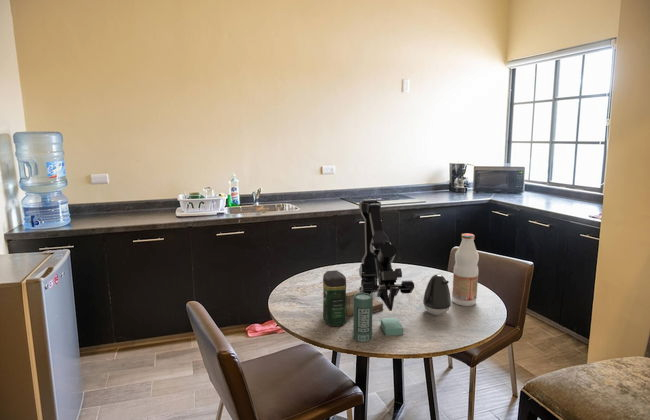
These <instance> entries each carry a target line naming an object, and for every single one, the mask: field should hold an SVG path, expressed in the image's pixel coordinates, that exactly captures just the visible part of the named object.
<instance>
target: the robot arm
mask: <svg viewBox="0 0 650 420" xmlns="http://www.w3.org/2000/svg"><path fill="white" fill-rule="evenodd" d="M358 209H359V212H360V215H361V217H362V218H363V219H364V247H365V248H364V250H365V251H364V254H363V257H362V259H361V264H360V266H359V268H358V269H359V270H358V272H359V273H358V274H359V277H360V278H361V280H360V287H358V288H359V289H360V293H368V294H371V295H372V293H373V292H376V293H377V294H376V297H378V298H380V299H381V301H382V303H383V304H384V305H385V306H386V307H387V309H388V311H389V312H392V311H393V307H394V301H395V297H397V296H398V293H399V292H400V293H401V294H402V295H403V294H412V292H413V290H415V289H414V288H415V282H414V281H413V280H402V281H401V283H400V284H398V283H397V281H398V278H402V277H403V271H402V268H399V267H398V268H396V267H395V269H394V268H393V267H392V263H393V261H394V259H395V257H396V254H397V248H396V246H394V245H393V244H392V243H391V242H390V239H389V236H388V235H387V234H386V233H385V232H384V226H383V221H382V215H381V211H382V203H381V201H378V200H377V198H362V199H361V201H359V203H358ZM396 283H397V284H396ZM388 291H389V292H388Z"/></svg>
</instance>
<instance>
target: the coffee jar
mask: <svg viewBox="0 0 650 420" xmlns="http://www.w3.org/2000/svg"><path fill="white" fill-rule="evenodd" d="M322 277H323V279H322V283H323V285H322V286H323V290H322V292H323V294H322V295H323V296H322V302H323V303H322V318H323V319H322V320H323V321H324V323H325V324H326V325H328V326H333V327H341V326H343V325H345V324H346V321H347V316H346V293H347V278H346V276H345V275H344V274H343V273H342V272H341V271H339V270H327V271H325V273H324V274H323V276H322Z"/></svg>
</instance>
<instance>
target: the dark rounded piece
mask: <svg viewBox="0 0 650 420" xmlns="http://www.w3.org/2000/svg"><path fill="white" fill-rule="evenodd" d="M448 284H449V280H446V278H445V276H443V275H441V274H434V275H432V276H431V278H430V279H429V280H428V283H427V285H426V287H425V291H424V294H423V300H422V303H423V305H424V309H425V311H427V313H429V314H430V315H433V316H442V315H445V314H447V313H448V311H449V310H450V307H451V305H452V299H451V298H452V297H451V293H450V292H451V291H450V288H449V285H448Z"/></svg>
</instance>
